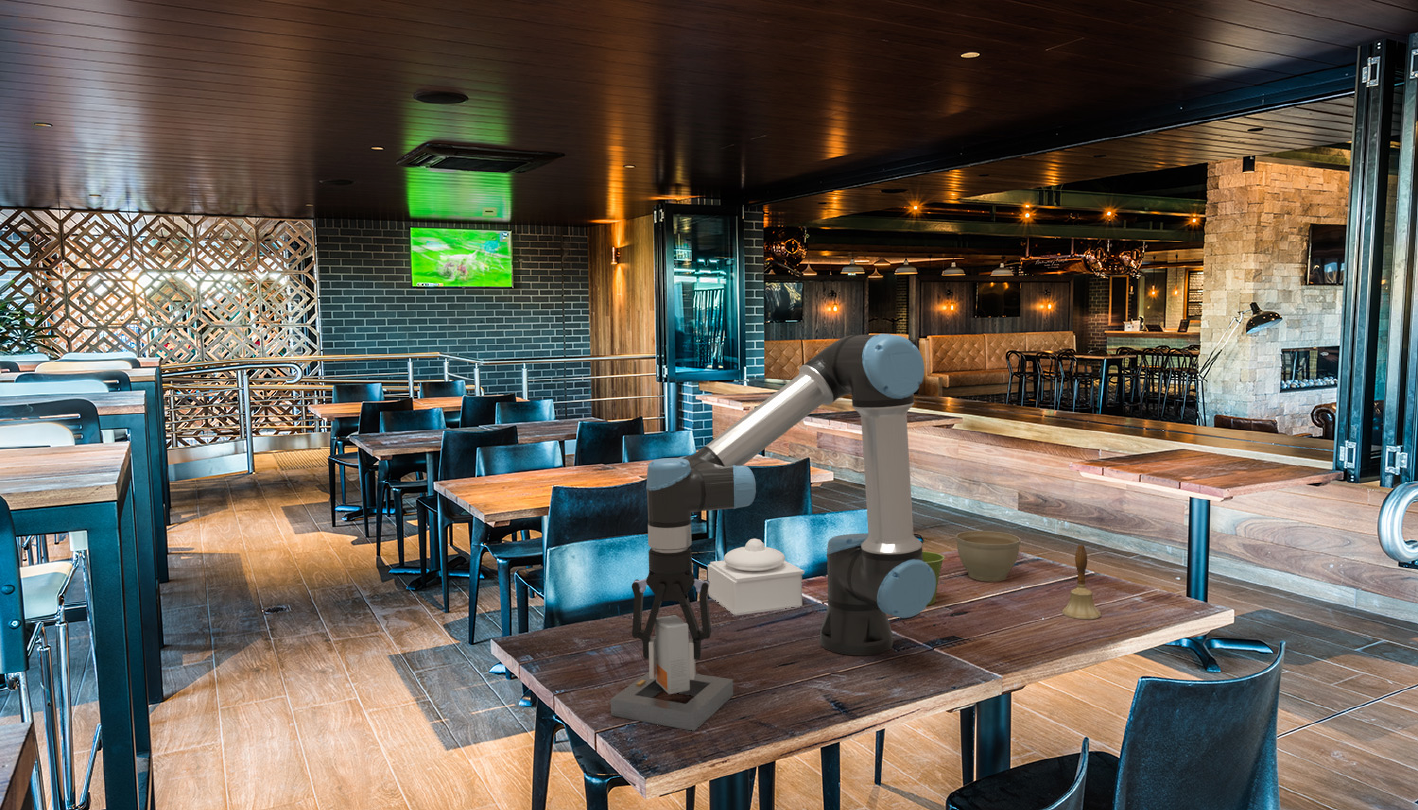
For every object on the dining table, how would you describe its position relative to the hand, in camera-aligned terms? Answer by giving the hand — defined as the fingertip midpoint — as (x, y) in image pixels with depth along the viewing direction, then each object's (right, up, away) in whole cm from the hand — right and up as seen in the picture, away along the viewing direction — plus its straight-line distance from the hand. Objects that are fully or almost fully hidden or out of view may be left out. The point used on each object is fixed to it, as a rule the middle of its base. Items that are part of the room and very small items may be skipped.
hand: (672, 676), depth 161 cm
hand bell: (+91, 0, +47) cm, 103 cm away
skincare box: (0, -2, 0) cm, 2 cm away
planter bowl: (+80, +2, +79) cm, 112 cm away
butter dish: (+18, 0, +62) cm, 65 cm away
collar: (0, -5, 0) cm, 5 cm away
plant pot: (+57, 0, +59) cm, 82 cm away
